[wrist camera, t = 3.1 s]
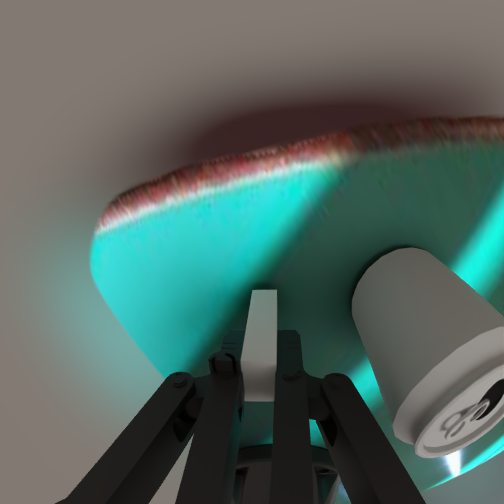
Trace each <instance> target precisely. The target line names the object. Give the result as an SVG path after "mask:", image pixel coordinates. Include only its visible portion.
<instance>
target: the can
mask: <svg viewBox="0 0 504 504" xmlns="http://www.w3.org/2000/svg"><path fill="white" fill-rule="evenodd" d="M352 316H353V319H354V322H355V325H356V328H357V330H358V333H359V335H360V338H361V340H362V343H363V345H364V348H365V350H366V353H367V356H368V358H369V361H370V364H371V366H372V369H373V372H374V375H375V377H376V380H377V383H378V386H379V389H380V392H381V394H382V397H383V400H384V403H385V406H386V409H387V412H388V415H389V418H390V422H391V425H392V428H393V431H394V434H395V436H396V437H397V438H399V439H400V440H401V441H403V442H405V443H409V444H412V445H414V452H415V454H417V455H418V456H420V457H422V458H436V457H440V456H444V455H448V454H450V453H453V452H455V451H457V450H460V449H462V448H464V447H465V446H467V445H469V444H471V443H472V442H474V441H476V440H477V439H479V438H480V437H481V436H483V435H484V434H485V433H487V432H488V431H489V430H490V429H492V428H493V427H494V426H495V425H496V424H497V423H498V422H499V421H500V420H501V419H502V418H503V417H504V317H503V316H502V315H501V314H500V313H499V312H498V311H497V310H496V309H495V308H494V307H493V306H492V305H490V304H489V303H488V302H487V301H486V300H485V299H484V298H483V297H482V296H481V295H479V294H478V293H477V292H476V291H475V290H474V289H473V288H472V287H470V286H469V285H468V284H467V283H466V282H465V281H463V280H462V279H461V278H460V277H459V276H457V275H456V274H455V273H454V272H453V271H451V270H450V269H449V268H448V267H446V266H445V265H444V264H443V263H441V262H440V261H439V260H438V259H436V258H435V257H434V256H433V255H431V254H430V253H429V252H427V251H425V250H421V249H417V248H413V247H412V248H404V249H397V250H395V251H393V252H391V253H389V254H386V255H384V256H382V257H381V258H380V259H378V260H377V261H376V262H375V263H374V264H373V265H371V266H370V267H369V268H368V269H367V271H366V272H365V273H364V275H363V276H362V278H361V279H360V281H359V282H358V284H357V287H356V289H355V292H354V295H353V298H352Z"/></svg>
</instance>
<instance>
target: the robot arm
mask: <svg viewBox="0 0 504 504" xmlns="http://www.w3.org/2000/svg"><path fill="white" fill-rule="evenodd" d="M208 361H209V366H210V371H211V374H209V375H207V376H203V377H198V378H193V377H192V376H191V375H190V374H188V373H186V372H176V373H173V374H171V375H170V376H168V377H167V378H166V379H165V381H164V382H163V383H162V384H161V386H160V387H159V388H158V389H157V391H156V392H155V393H154V394H153V395H152V397H151V398H150V399H149V400H148V401H147V403H146V404H145V405H144V407H143V408H142V409H141V410H140V411H139V412H138V414H137V415H136V416H135V417H134V419H133V420H132V421H131V422H130V423H129V425H128V426H127V427H126V428H125V429H124V431H123V432H122V433H121V434H120V435H119V437H118V438H117V439H116V440H115V441H114V443H113V444H112V445H111V446H110V447H109V449H108V450H107V451H106V452H105V453H104V455H103V456H102V457H101V458H100V460H98V462H97V463H96V464H95V465H94V466H93V468H92V469H91V470H90V471H89V472H88V473H87V475H86V476H85V477H84V478H83V479H82V481H81V482H80V483H79V484H78V485H77V487H76V488H75V489H74V490H73V491H72V492H71V494H70V495H69V496H68V497H67V498H65V499H63V500H61V501H59V502H57V503H55V504H149V502H150V501H151V499H152V498H153V496H154V495H155V493H156V492H157V490H158V489H159V487H160V486H161V484H162V483H163V481H164V480H165V478H166V477H167V475H168V474H169V472H170V470H171V469H172V467H173V466H174V464H175V462H176V461H177V459H178V458H179V456H180V455H181V453H182V452H183V450H184V448H185V447H186V445H187V444H188V442H189V440H190V439H191V437H192V436H193V434H194V436H193V439H192V443H191V447H190V450H189V454H188V458H187V462H186V465H185V469H184V473H183V477H182V481H181V484H180V488H179V491H178V495H177V499H176V502H175V504H334V501H335V498H336V494H337V491H338V487H339V484H340V480H341V481H342V483H343V485H344V488H345V490H346V492H347V494H348V497H349V499H350V501H351V504H426V503H425V501H424V500H423V498H422V496H421V494H420V493H419V491H418V489H417V488H416V486H415V484H414V482H413V481H412V479H411V477H410V476H409V474H408V472H407V471H406V469H405V467H404V466H403V464H402V462H401V461H400V459H399V457H398V456H397V454H396V452H395V451H394V449H393V447H392V446H391V444H390V442H389V441H388V439H387V438H386V436H385V434H384V433H383V431H382V429H381V428H380V426H379V424H378V423H377V421H376V420H375V418H374V416H373V415H372V413H371V411H370V410H369V408H368V407H367V405H366V403H365V402H364V400H363V399H362V397H361V395H360V394H359V392H358V390H357V389H356V387H355V386H354V384H353V382H352V381H351V379H350V378H349V377H348V376H346V375H344V374H340V373H331V374H329V375H326V376H325V377H324V378H323V379H321V378H316V377H312V376H310V375H309V374H307V373H306V372H305V370H304V368H303V361H302V351H301V341H300V335H299V334H298V333H297V331H296V330H277V290H252V296H251V302H250V308H249V314H248V320H247V326H246V331H229V332H228V333H227V334H226V335H225V337H224V341H223V344H222V349H221V351H220V352H217V353H214V354H213V355H211V356H210V358H209V359H208ZM244 399H245V401H259V402H274V422H273V445H265V446H257V447H251V448H246V449H242V450H239V444H240V437H241V429H242V422H243V414H244V405H243V402H244ZM309 419H313V420H316V423H317V425H318V427H319V430H320V432H321V434H322V437H323V439H324V441H325V444H326V446H327V448H328V451H327V450H324V449H321V448H317V447H312V446H311V440H310V425H309Z"/></svg>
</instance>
